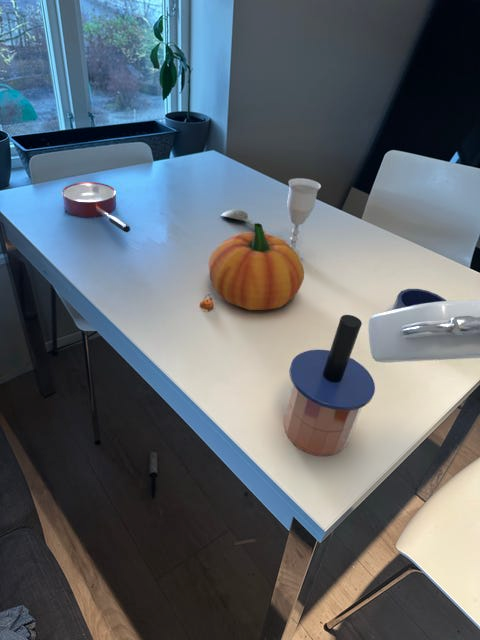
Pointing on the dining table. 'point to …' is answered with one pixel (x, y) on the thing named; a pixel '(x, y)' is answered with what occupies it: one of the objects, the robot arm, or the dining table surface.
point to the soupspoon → (238, 216)
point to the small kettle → (206, 304)
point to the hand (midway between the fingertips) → (442, 340)
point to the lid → (334, 372)
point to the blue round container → (415, 298)
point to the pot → (318, 425)
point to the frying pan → (92, 201)
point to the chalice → (300, 204)
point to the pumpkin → (256, 270)
